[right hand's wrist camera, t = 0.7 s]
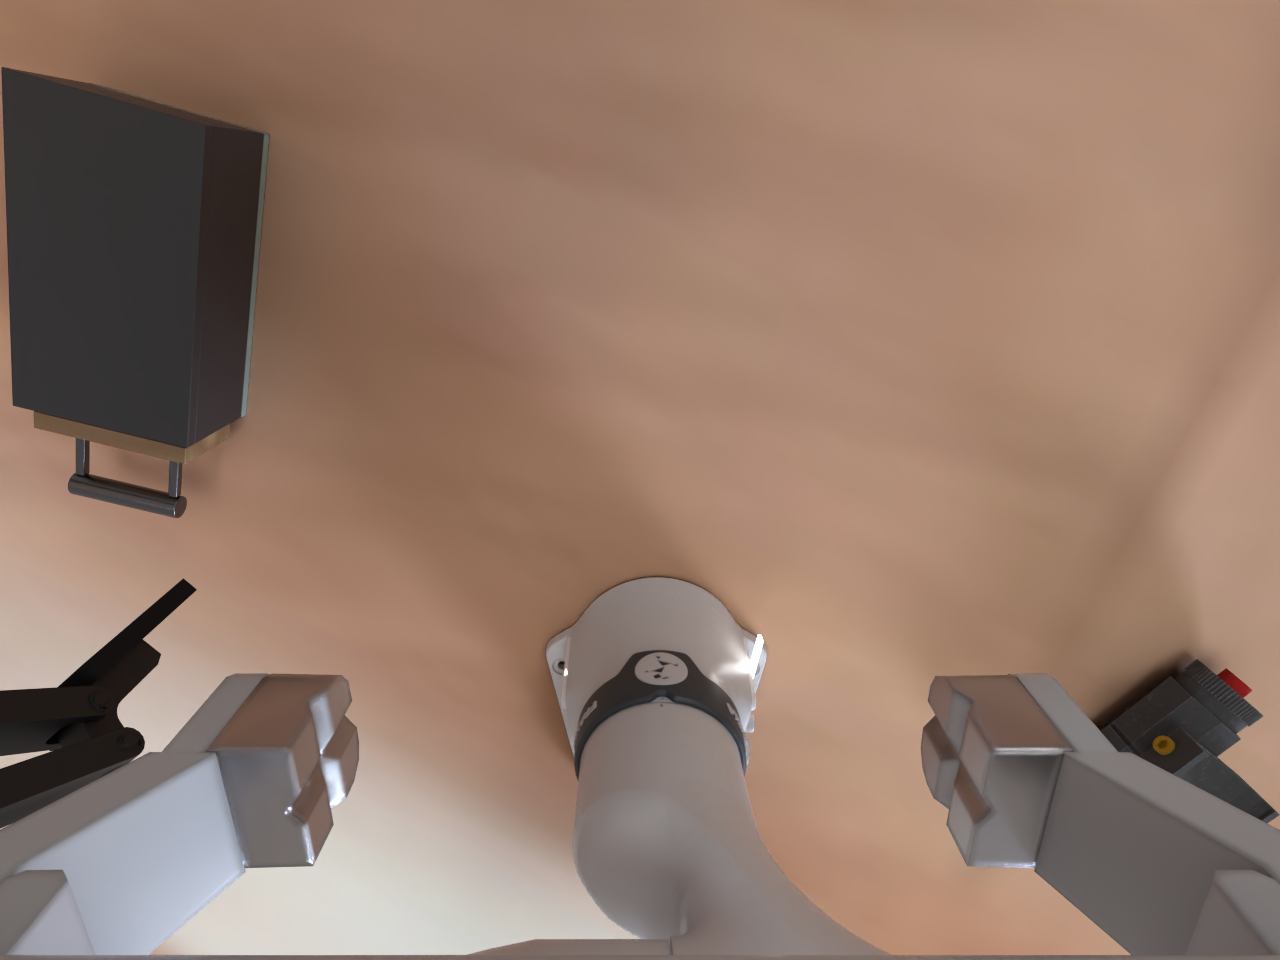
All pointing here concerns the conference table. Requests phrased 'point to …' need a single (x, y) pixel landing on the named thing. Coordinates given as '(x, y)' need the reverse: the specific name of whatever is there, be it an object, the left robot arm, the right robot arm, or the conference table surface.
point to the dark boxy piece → (129, 258)
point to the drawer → (118, 490)
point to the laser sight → (1193, 733)
